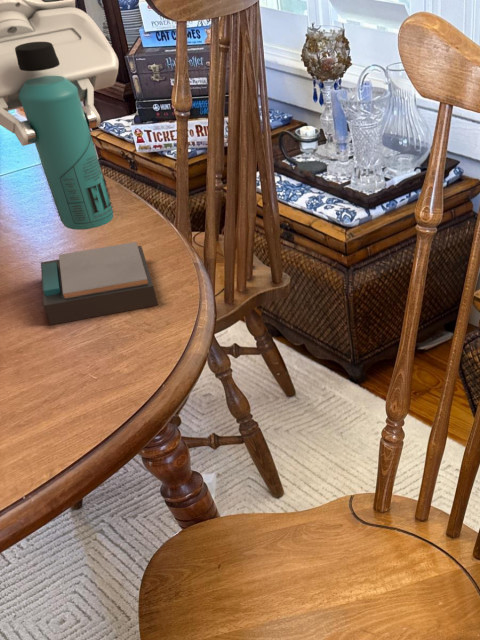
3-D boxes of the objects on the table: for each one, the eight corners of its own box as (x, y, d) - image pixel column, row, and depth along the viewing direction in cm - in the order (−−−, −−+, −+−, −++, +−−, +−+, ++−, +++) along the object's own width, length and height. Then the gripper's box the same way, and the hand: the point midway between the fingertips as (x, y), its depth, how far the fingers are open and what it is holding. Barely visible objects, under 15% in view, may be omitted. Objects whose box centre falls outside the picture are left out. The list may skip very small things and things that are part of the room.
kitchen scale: (50, 325, 95) (41, 299, 93) (47, 281, 104) (38, 256, 102) (158, 305, 98) (151, 279, 96) (146, 263, 107) (139, 239, 105)
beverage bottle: (104, 243, 93) (47, 51, 79) (53, 241, 94) (-13, 50, 80) (128, 222, 98) (77, 36, 84) (79, 220, 99) (20, 36, 85)
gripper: (-107, 13, 78) (-29, 138, 80) (81, -17, 88) (147, 94, 90) (-100, 57, 84) (-28, 173, 85) (76, 24, 94) (138, 128, 95)
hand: (63, 132), depth 88 cm, fingers closed on beverage bottle, 6 cm apart
